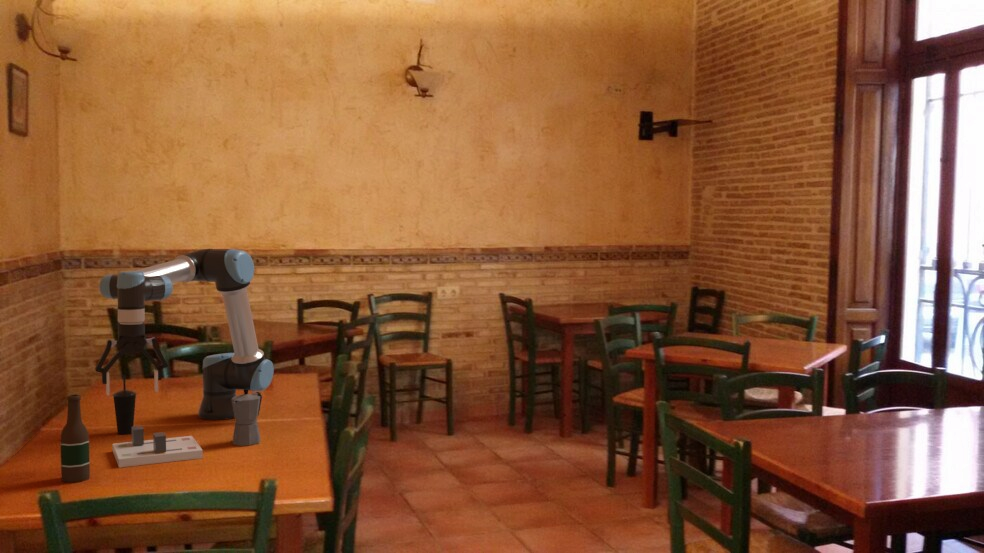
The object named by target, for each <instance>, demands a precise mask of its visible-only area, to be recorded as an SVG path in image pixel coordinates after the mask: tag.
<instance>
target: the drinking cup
mask: <svg viewBox="0 0 984 553" xmlns="http://www.w3.org/2000/svg"><path fill="white" fill-rule="evenodd" d="M122 379H123V380H122V382H123V386H122V388H123V389H121V390H118V391H116V392H114V393H112V397H113V403H114V404H113V405H114V412H115V422H116V430H117V435H121V436H122V435H123V436H124V435H125V436H126V435H130V434H131V435H132V426H135V425H134V422H135V413H136V412H135V410H136V399H137V398H136V397H137V394H138V393H137V392H136V391H134V390H131V389H126V388H127V387H126V383H127V382H126V375H125V374H123V375H122Z"/></svg>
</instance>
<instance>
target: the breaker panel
mask: <svg viewBox="0 0 984 553" xmlns="http://www.w3.org/2000/svg"><path fill="white" fill-rule="evenodd" d="M203 452H204V450H203V449H202V447H201V446H200V444H199V443H198V442H197V441H196V439H195V438H194V437H193V435H187V436H175V437H166V452H161V453H155V451H154V447H153V439H147V440H145V439H144V445H135V446H134V445H133V443H132V441H126V442H118V443H112V453H113V455H114V456H113V457H114V458H115V461H116V463H117V466H118V468H120V469H121V468H125V467H126V468H127V467H137V466H144V465H146V466H147V465H153V464H163V463H172V462H180V461H187V460H188V461H191V460H198V459H199V460H200V459H203V458H204V453H203Z"/></svg>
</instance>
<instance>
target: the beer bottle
mask: <svg viewBox="0 0 984 553" xmlns="http://www.w3.org/2000/svg"><path fill="white" fill-rule="evenodd" d="M80 395H81V394H75V393H74V394H69V395H67V397H66V400H67V417H66V423H65V425H64V427H63V428H62V431H61V433H60V472H61V473H60V474H61V482H62V483H68V484H69V483H70V484H72V483H80V482H81V483H82V482H84V481H88V480H89V479H90V477H91V476H90V475H91V474H90V470H91V469H90V468H91V467H90V465H91V464H90V463H91V462H90V436H89V435H90V434H89V432H88V429H87V427H86V426H85V424H84V423H83V421H82V412H81V399H82V398H81V396H80Z"/></svg>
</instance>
